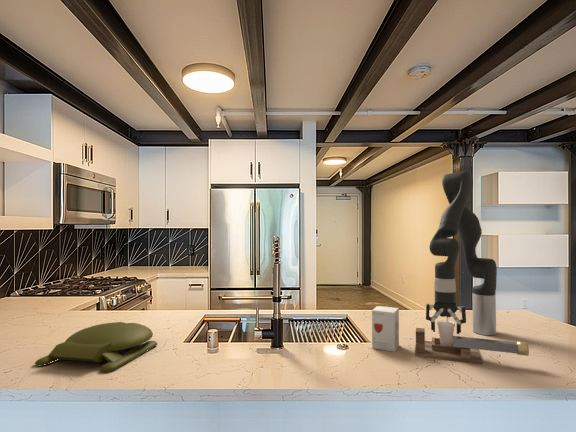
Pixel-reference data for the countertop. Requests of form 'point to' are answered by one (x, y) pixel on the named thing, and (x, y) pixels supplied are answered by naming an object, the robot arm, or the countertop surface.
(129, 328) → the spaceship
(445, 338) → the smoothie
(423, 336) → the holder
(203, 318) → the countertop surface
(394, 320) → the supplement box
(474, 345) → the bar
